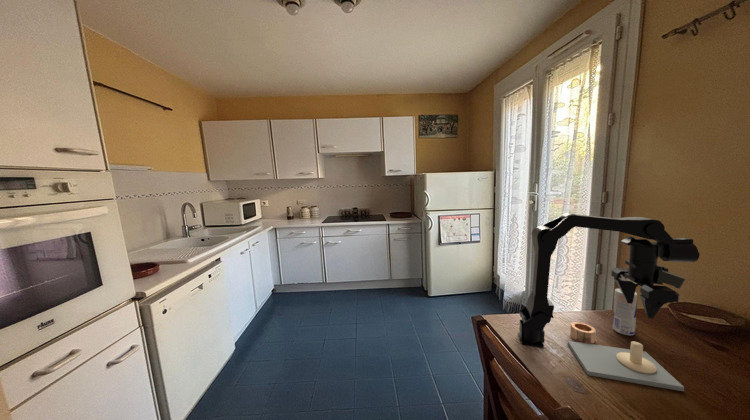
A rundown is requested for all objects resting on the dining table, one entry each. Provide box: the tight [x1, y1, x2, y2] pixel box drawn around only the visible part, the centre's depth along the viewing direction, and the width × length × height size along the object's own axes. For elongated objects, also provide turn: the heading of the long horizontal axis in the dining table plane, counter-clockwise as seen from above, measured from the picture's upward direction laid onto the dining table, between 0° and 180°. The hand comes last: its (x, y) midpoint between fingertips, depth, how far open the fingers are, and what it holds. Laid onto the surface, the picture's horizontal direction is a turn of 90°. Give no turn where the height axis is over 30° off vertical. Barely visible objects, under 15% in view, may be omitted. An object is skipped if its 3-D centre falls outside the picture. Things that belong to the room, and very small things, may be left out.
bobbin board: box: [567, 340, 685, 392], centre depth 73 cm, size 20×14×7 cm
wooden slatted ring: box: [570, 321, 597, 345], centre depth 86 cm, size 6×6×4 cm
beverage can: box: [612, 288, 638, 336], centre depth 88 cm, size 6×6×15 cm
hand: (639, 310), depth 75 cm, fingers open, 9 cm apart
